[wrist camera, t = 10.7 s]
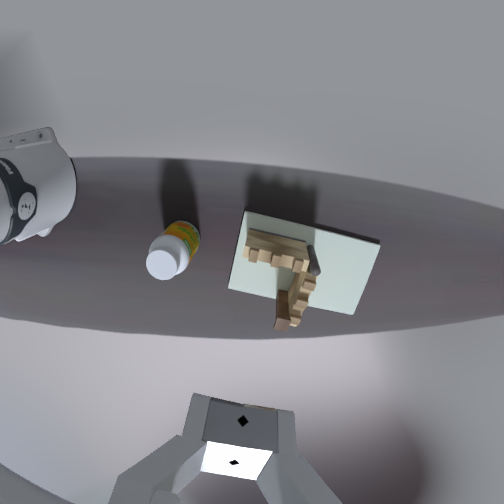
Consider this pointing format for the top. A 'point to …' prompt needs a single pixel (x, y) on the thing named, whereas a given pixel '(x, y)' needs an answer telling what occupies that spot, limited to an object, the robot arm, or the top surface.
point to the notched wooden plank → (300, 294)
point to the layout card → (329, 258)
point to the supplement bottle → (172, 250)
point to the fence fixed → (280, 252)
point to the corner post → (282, 311)
